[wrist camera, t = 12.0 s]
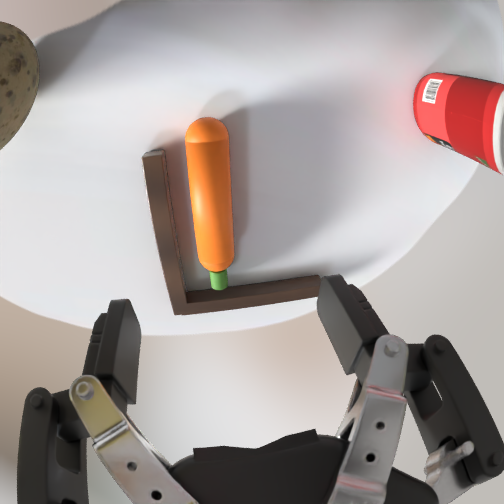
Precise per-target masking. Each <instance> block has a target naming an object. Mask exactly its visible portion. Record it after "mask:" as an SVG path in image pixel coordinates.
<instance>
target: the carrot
mask: <svg viewBox="0 0 504 504" xmlns="http://www.w3.org/2000/svg"><path fill="white" fill-rule="evenodd" d="M185 145H186V156H187V167H188V177H189V186H190V195H191V204H192V213H193V221H194V228H195V236H196V243H197V251H198V257H199V260H200V262H201V264H202V265H203V266H204V267H205V268H206V269H208V270H209V272H210V280H211V286H212V288H213V289H215V290H223V289H225V288H226V287H227V286H228V278H227V268H228V267H229V266H230V265H231V263H232V262H233V259H234V253H235V252H234V235H233V216H232V197H231V176H230V153H229V134H228V131H227V128H226V127H225V125H224V124H223V123H222V122H221V121H219V120H217V119H215V118H211V117H205V118H200V119H198V120H196V121H194V122H193V123H192V124H191V125H190V126H189V128H188V129H187V132H186V136H185Z"/></svg>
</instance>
